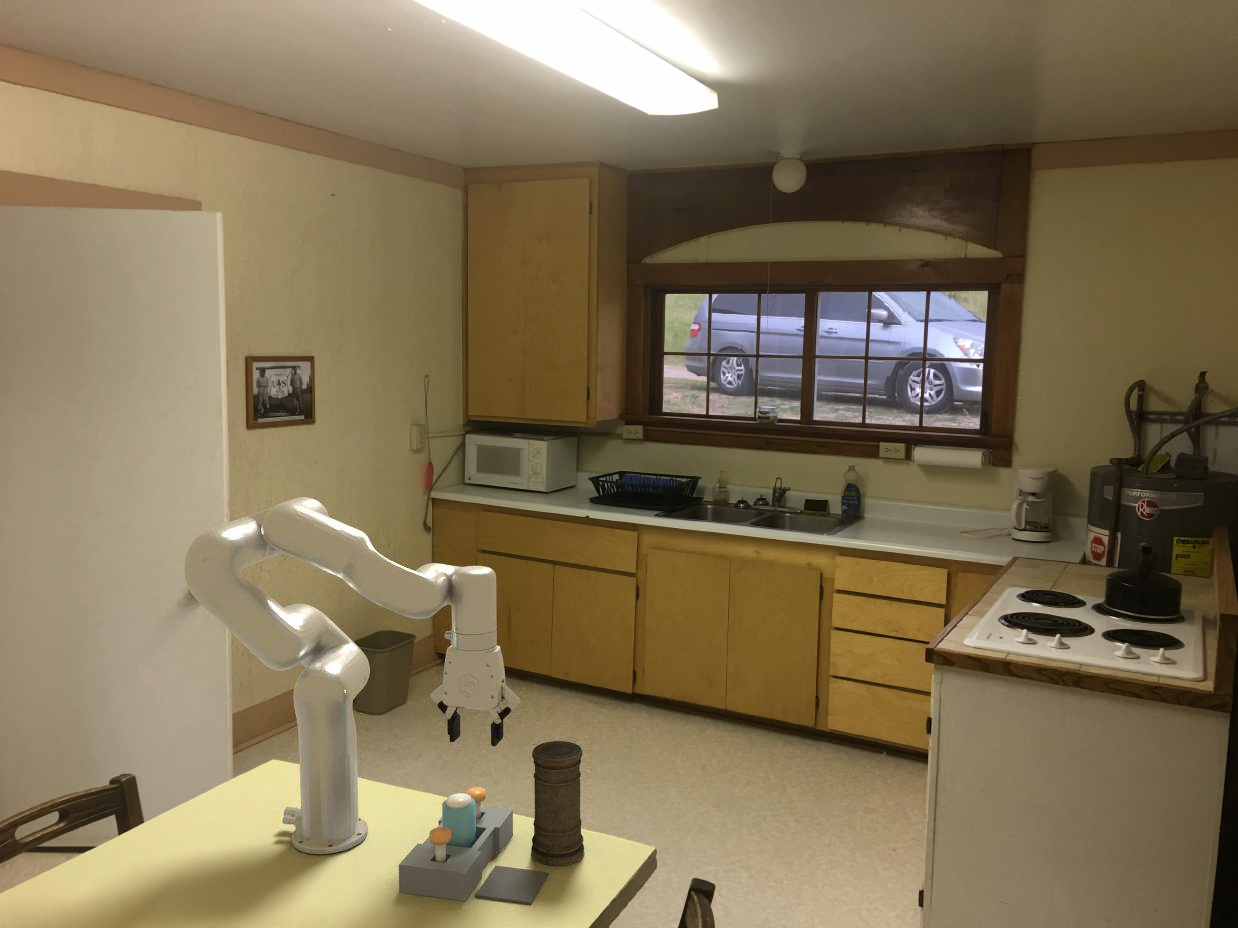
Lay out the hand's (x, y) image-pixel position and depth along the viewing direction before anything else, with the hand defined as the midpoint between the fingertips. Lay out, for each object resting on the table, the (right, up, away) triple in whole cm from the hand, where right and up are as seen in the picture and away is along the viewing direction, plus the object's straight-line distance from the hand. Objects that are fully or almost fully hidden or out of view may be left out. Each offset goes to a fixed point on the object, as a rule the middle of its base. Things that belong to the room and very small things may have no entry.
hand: (475, 740), depth 160 cm
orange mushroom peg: (0, -15, +1) cm, 15 cm away
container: (+14, -18, -3) cm, 23 cm away
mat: (+8, -19, -13) cm, 24 cm away
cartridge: (-2, -18, -6) cm, 19 cm away
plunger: (-3, -16, -13) cm, 21 cm away
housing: (-2, -18, -6) cm, 19 cm away
